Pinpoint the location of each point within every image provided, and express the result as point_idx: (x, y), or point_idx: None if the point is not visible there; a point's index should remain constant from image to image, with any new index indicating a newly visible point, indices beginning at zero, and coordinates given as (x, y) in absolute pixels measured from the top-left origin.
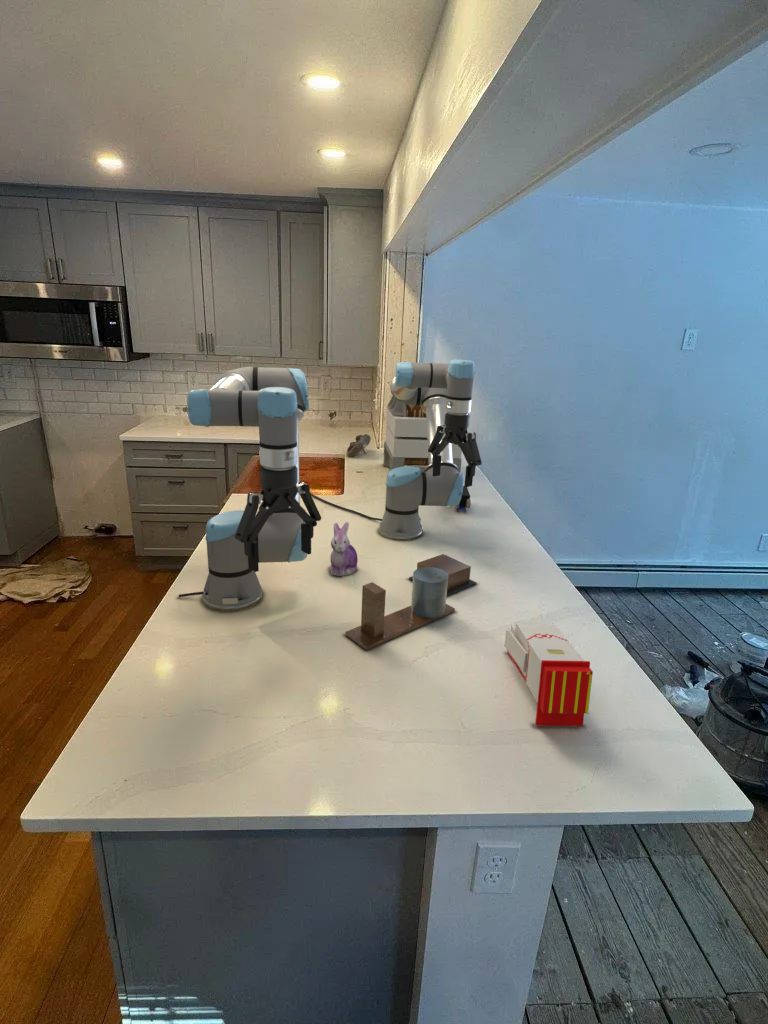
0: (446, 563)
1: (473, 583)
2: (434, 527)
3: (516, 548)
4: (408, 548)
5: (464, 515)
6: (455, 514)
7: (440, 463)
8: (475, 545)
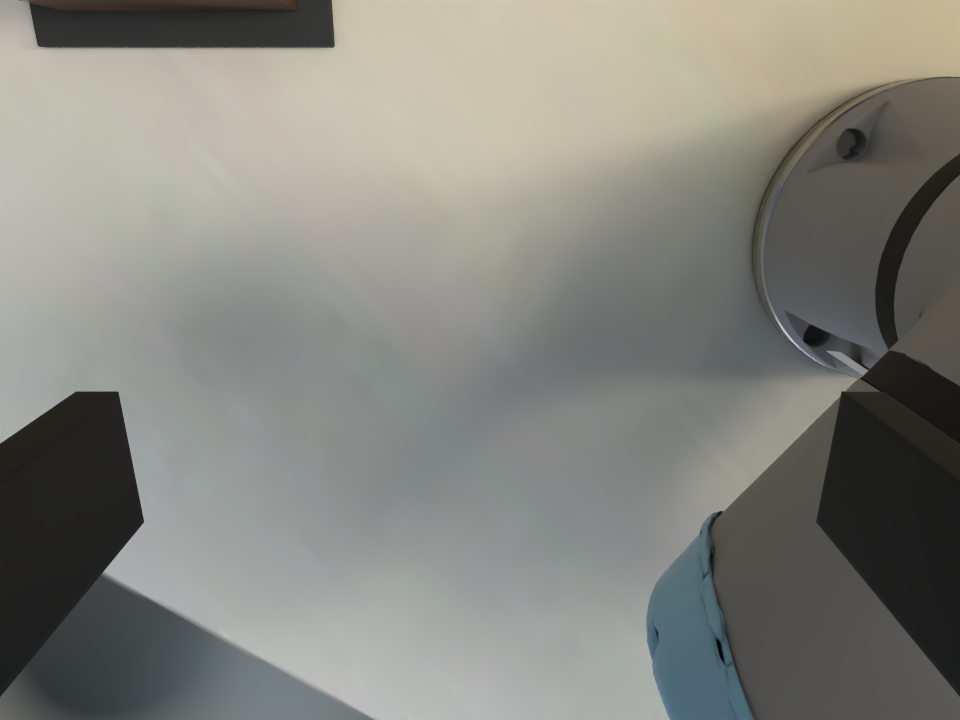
0: None
1: (34, 17)
2: None
3: (304, 591)
4: (681, 83)
5: None
6: None
7: (955, 675)
8: (455, 457)
